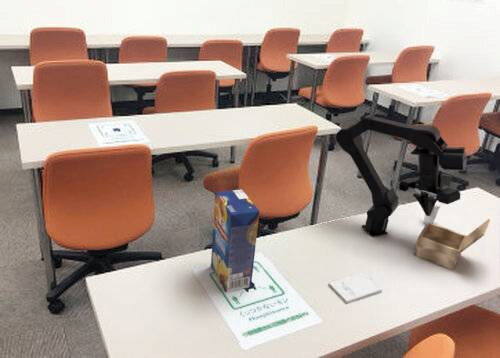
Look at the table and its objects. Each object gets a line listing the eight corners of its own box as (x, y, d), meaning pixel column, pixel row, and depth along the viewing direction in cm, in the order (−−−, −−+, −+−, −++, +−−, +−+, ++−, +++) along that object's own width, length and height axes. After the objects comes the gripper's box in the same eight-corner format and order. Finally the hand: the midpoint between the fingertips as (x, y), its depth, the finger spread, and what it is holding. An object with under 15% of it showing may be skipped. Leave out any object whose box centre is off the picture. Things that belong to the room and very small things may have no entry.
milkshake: (438, 228, 162) (445, 203, 157) (422, 225, 163) (429, 200, 158) (436, 221, 166) (443, 197, 161) (420, 218, 167) (427, 194, 162)
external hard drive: (381, 293, 128) (345, 305, 122) (361, 276, 134) (327, 286, 129) (382, 289, 127) (346, 300, 122) (363, 271, 134) (328, 282, 128)
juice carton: (251, 287, 125) (259, 210, 114) (225, 292, 122) (231, 215, 111) (234, 261, 135) (241, 188, 124) (210, 265, 132) (215, 192, 121)
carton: (412, 255, 145) (418, 236, 142) (422, 239, 154) (427, 221, 151) (452, 271, 140) (459, 252, 136) (460, 253, 148) (467, 235, 145)
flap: (482, 233, 131) (484, 235, 131) (488, 218, 140) (490, 220, 139) (459, 251, 137) (461, 252, 137) (466, 236, 145) (468, 237, 145)
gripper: (473, 167, 135) (471, 216, 140) (421, 156, 151) (422, 200, 156) (447, 177, 130) (447, 227, 135) (397, 164, 146) (398, 210, 151)
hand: (428, 215), depth 144 cm, fingers closed
